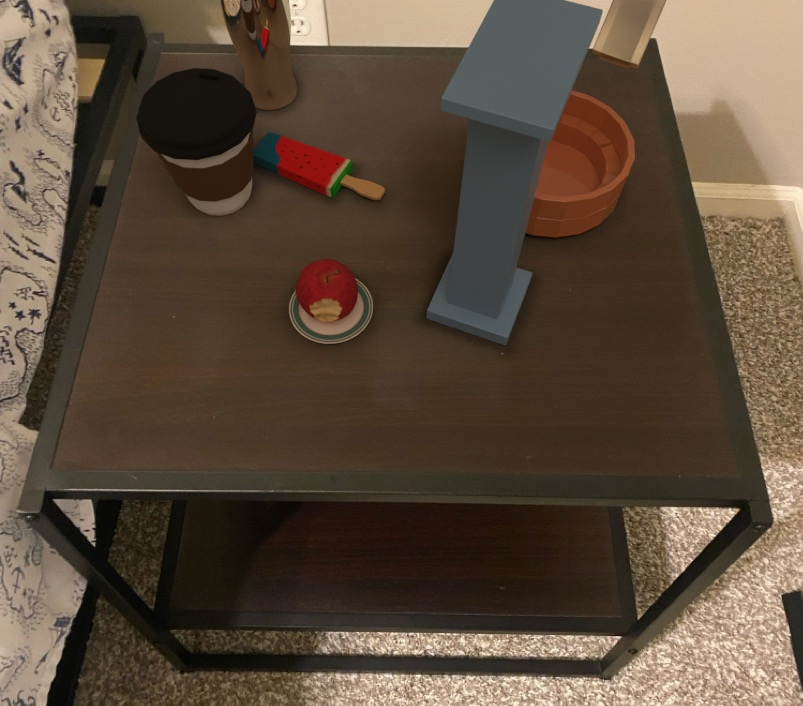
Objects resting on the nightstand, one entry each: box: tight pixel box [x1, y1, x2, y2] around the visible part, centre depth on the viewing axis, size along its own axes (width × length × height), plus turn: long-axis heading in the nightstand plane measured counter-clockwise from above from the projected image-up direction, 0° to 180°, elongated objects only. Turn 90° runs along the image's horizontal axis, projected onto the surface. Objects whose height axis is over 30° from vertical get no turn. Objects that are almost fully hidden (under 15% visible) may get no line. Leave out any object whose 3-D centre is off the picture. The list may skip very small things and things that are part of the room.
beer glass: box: [219, 0, 298, 111], centre depth 76 cm, size 7×7×15 cm
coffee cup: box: [135, 67, 258, 217], centre depth 70 cm, size 11×11×12 cm
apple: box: [288, 258, 374, 345], centre depth 65 cm, size 8×8×6 cm
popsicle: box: [253, 131, 386, 201], centre depth 76 cm, size 5×2×15 cm
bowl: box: [525, 89, 636, 239], centre depth 74 cm, size 16×16×6 cm
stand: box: [425, 0, 604, 346], centre depth 57 cm, size 12×8×28 cm, turn 158°
